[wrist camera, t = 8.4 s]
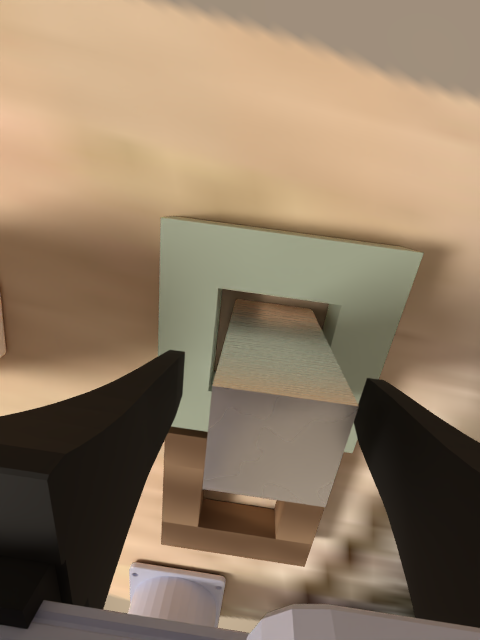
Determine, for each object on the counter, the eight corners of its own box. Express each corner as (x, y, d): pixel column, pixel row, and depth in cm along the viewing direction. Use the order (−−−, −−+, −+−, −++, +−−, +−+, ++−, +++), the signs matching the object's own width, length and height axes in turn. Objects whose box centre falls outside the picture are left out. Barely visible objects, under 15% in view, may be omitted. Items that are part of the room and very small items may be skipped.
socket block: (300, 535, 22) (304, 566, 20) (169, 515, 22) (161, 544, 20) (332, 432, 18) (340, 458, 16) (174, 409, 18) (165, 432, 16)
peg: (297, 373, 17) (325, 507, 9) (228, 364, 17) (202, 489, 9) (311, 308, 15) (358, 406, 8) (236, 298, 15) (212, 385, 8)
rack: (343, 427, 18) (352, 453, 16) (167, 401, 18) (156, 424, 16) (401, 246, 14) (423, 252, 12) (174, 216, 14) (160, 217, 12)
